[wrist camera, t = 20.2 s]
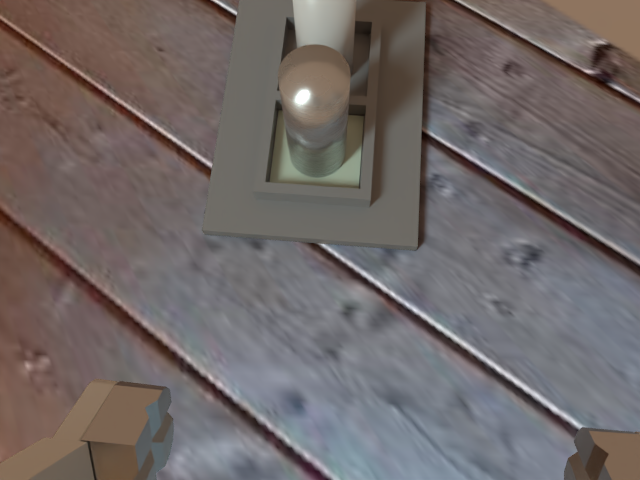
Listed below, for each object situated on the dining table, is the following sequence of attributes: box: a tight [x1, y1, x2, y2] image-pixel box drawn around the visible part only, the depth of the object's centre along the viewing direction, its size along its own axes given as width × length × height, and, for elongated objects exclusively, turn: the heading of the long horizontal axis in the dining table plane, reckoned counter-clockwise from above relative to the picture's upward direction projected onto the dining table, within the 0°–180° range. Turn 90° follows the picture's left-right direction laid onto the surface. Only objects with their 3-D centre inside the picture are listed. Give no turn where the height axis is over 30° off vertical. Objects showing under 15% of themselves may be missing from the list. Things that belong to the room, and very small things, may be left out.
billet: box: [278, 44, 350, 178], centre depth 38 cm, size 4×4×10 cm
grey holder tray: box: [202, 0, 426, 251], centre depth 40 cm, size 16×22×11 cm
